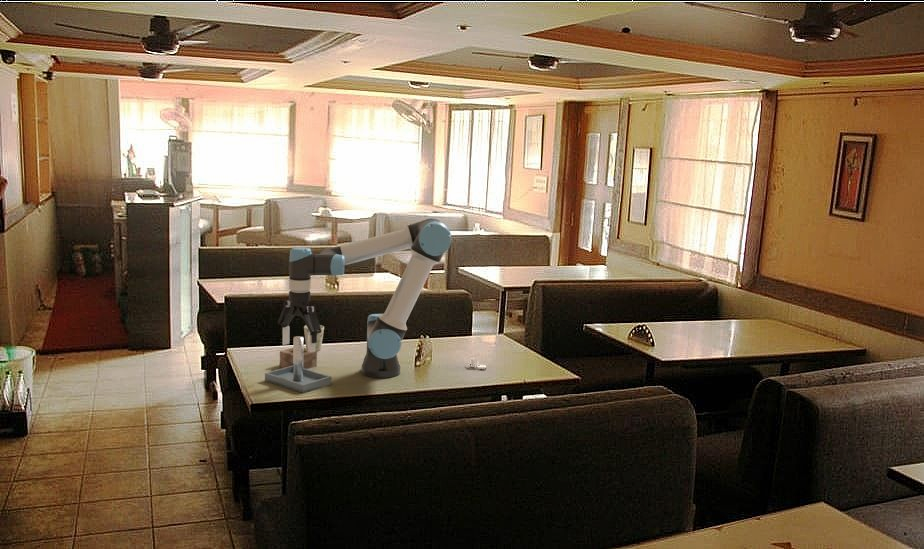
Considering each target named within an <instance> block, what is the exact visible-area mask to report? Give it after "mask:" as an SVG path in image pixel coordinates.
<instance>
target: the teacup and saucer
mask: <svg viewBox="0 0 924 549" xmlns="http://www.w3.org/2000/svg"><path fill="white" fill-rule="evenodd" d="M479 360H480V358H478V357H471V358H469V360H468V361H469V364H471V368H472V367H477V368H476V369H482V370H485V368H486V369H487V366H486V365H485V364H479ZM478 365H480V366H478Z"/></svg>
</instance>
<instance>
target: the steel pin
mask: <svg viewBox="0 0 924 549" xmlns="http://www.w3.org/2000/svg"><path fill="white" fill-rule="evenodd" d="M304 339H305V336H300V335H299V336H298V335H297V336H293V343H292V344H293V345H292V346H293V381H297V382H299V381H303V351H304V348H305V347H304V344H305V343H304V341H305V340H304Z"/></svg>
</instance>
